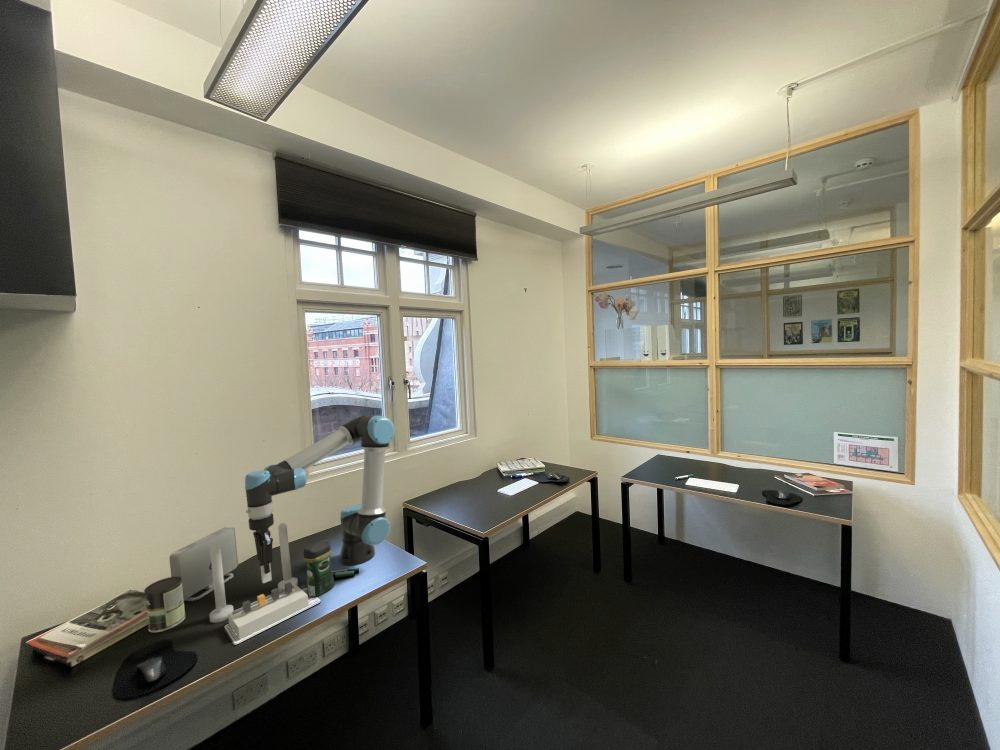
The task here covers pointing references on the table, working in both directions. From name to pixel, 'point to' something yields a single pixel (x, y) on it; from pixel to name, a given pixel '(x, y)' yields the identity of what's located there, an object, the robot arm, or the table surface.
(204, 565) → the network device
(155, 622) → the coffee can
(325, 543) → the coffee jar
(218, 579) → the white peg stand
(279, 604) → the breaker panel
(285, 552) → the white rod
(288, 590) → the breaker paddles
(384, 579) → the table surface
